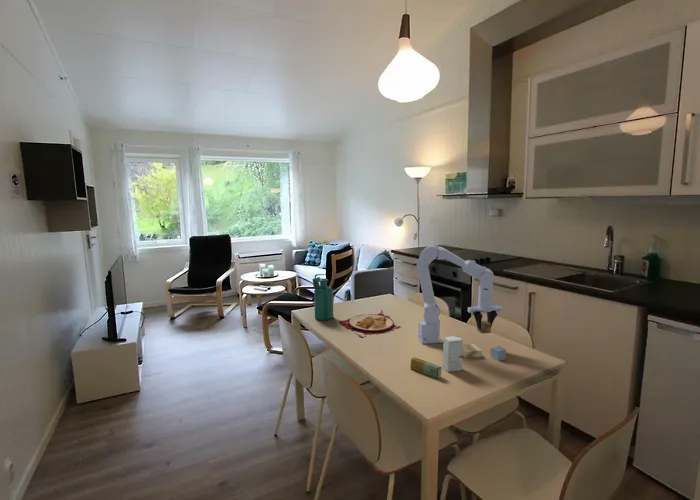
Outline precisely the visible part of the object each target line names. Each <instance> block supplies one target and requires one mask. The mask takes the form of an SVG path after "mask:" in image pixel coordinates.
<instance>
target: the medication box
mask: <svg viewBox="0 0 700 500" xmlns="http://www.w3.org/2000/svg"><path fill="white" fill-rule="evenodd" d="M409 368H410V369H411V370H413V371H416V372H420V373H421V374H424V375H426V376H429V377H431V378H433V379H436V380H439V379H441V377H442V370H443V369H442V368H443V366H440V365H438V364H434V363H432V362H430V361H426V360H424V359H420V358H419V357H411V359H410V366H409Z"/></svg>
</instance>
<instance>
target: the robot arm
mask: <svg viewBox="0 0 700 500" xmlns="http://www.w3.org/2000/svg"><path fill="white" fill-rule="evenodd" d="M436 258H437V260H446V261H449V262H451V263H452V264H454V265H456V266H458V267H461V269H462V272H463V273H465V274H467V275H469V276H471V277H472V278H474V279H475V280H476V279H478V280H479V286H478V301H477V305H475V306H468V307H467V312H468V313H470V314H472V315H473V317H474V319H475V323H476V328H477V329H478V328H479V329H481V321H483V320H482V319H483V314H482V313H486V317H487V320H486V321H487V322H489V323H490V324H491V327H492V326H493V323H494V321H495V319H496V318H497V316H498V312H500V313H501V312H503V307H502V306H501V305H493V297H494V281H495V275H494V272H493V270H491V269H490V268H487V267H486V266H483V265H480V264H478V263H477V261H476V260H471V259H468V260H465V259H463V258H461V257H460V256H458V255H456V254H455V253H453V252H451V251H449V250H448V249H446V248H444V247H442V246H440V245H438V244H435V243H430V244H428V245H427V246H426V247H425V248H424V249H423V250H422V251H421V252H420V255H419V257H418V259H417V262H416V269H417V274H418V279H419V284H420V288H421V292H422V298H423V311H424V312H423V321H420V322H419V321H418V326H417V327H418V328H417V339H418V340H419V341H420V343H421V344H444V341H443V340H442V339H441V338H440V337H441V335H440V334H441V332H440V331H441V319H440V318H439V317H440V315H441V309H440V307H439V306H438V303H437V300H436V298H435V294H434V289H433V284H432V279H431V274H430V270H429V266H430V264H431V263H432V262H433V261H434V260H436Z"/></svg>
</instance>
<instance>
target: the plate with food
mask: <svg viewBox="0 0 700 500" xmlns="http://www.w3.org/2000/svg"><path fill="white" fill-rule="evenodd" d="M380 311H381V312H380V313H377V314H376V313H375V314H373V313H372V314H371V313H368V314H358V315H356V316H355V315H354V316H353V317H351V318H348V319H344V320H341V319H340V320H338V322H340V323H341V324H342V325H343V326H344V327H346V328H347V329H348V330H351V331H352V332H355V333H357V332H358V333H360V334H361V335H360V334H358V337H361V338H365V337H367V336H372V335H375V334H376V335H379V334H380V335H381V334H384V333H385V332H386V331H390V330H392V331H395V330H399V329H400V328H402V326H401V325H398V326H397V325H395V324H394V321H393V319H392V318H391V317H390V315H385V314H384V311H383V310H382V309H381V310H380ZM362 334H363V335H362Z"/></svg>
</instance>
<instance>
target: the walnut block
mask: <svg viewBox="0 0 700 500" xmlns="http://www.w3.org/2000/svg"><path fill="white" fill-rule="evenodd" d="M491 329H492V326H491V324H490V323H489V322H487V320H481V329H479V328H477V329H476V330H477V331H478V332H479V333H480V334H491Z"/></svg>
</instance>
